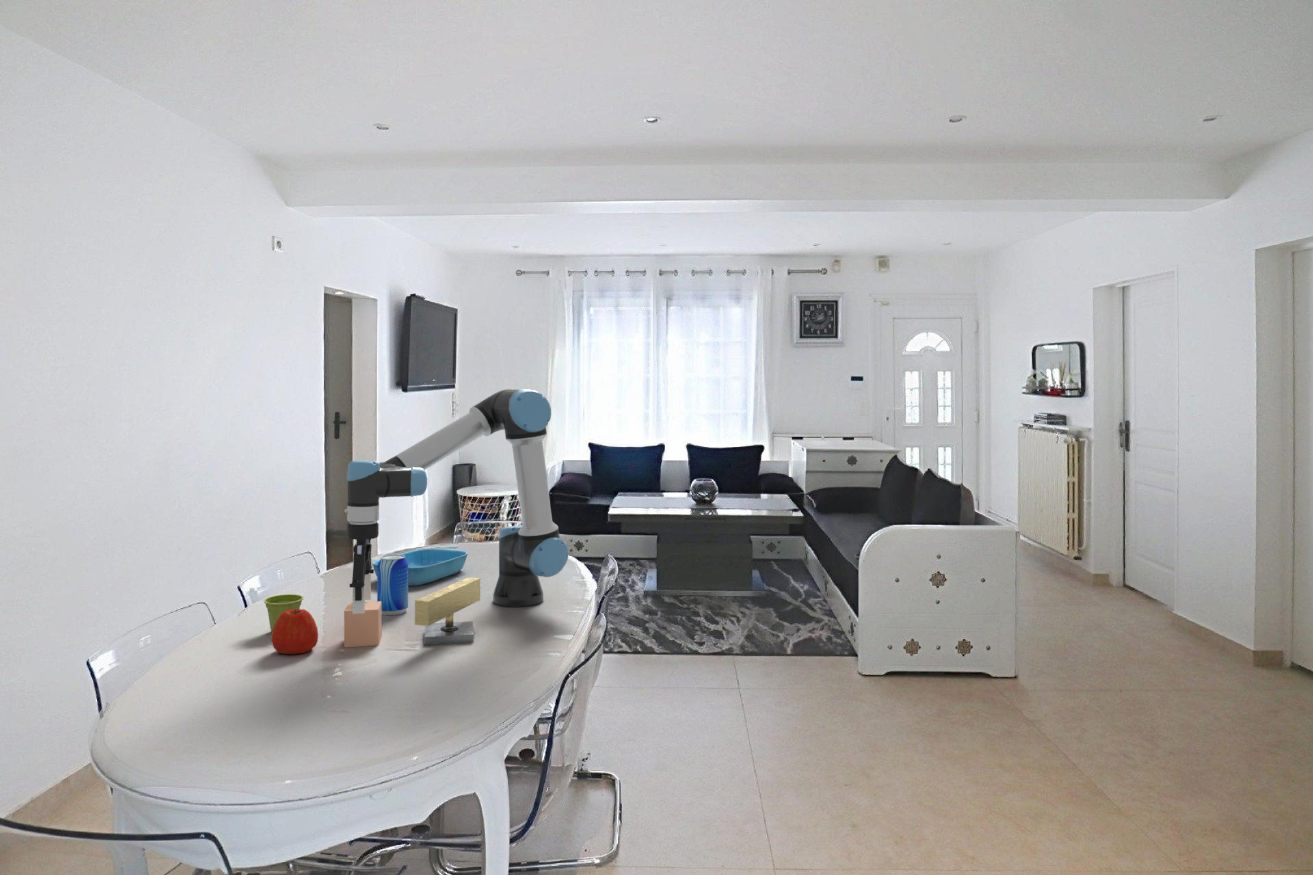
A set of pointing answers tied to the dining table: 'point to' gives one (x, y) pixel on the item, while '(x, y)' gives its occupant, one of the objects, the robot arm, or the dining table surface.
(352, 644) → the peach tan cube
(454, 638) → the grey square base plate
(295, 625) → the apple
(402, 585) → the beer can
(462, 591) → the yellow t-shaped bar
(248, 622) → the dining table surface
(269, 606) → the plant pot
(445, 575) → the casserole dish
